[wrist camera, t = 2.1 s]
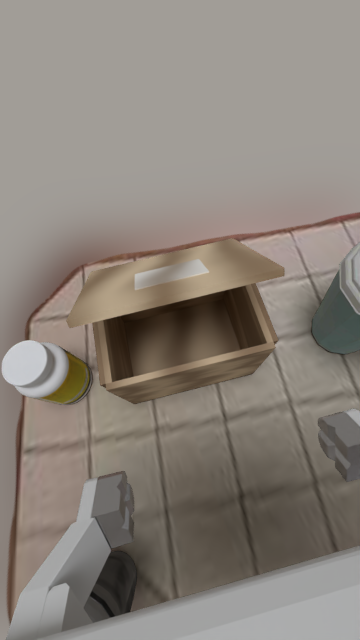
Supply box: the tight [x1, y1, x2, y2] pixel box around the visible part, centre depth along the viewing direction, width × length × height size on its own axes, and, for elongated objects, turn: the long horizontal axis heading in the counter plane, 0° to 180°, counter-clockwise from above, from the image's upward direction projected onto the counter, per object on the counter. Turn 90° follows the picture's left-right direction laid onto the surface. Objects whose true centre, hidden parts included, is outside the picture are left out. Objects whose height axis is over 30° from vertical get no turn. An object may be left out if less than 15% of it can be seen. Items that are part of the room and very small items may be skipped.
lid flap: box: [66, 238, 284, 328], centre depth 25 cm, size 16×12×1 cm
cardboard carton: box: [93, 283, 278, 404], centre depth 33 cm, size 17×12×12 cm
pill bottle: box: [2, 340, 92, 405], centre depth 33 cm, size 6×6×11 cm
